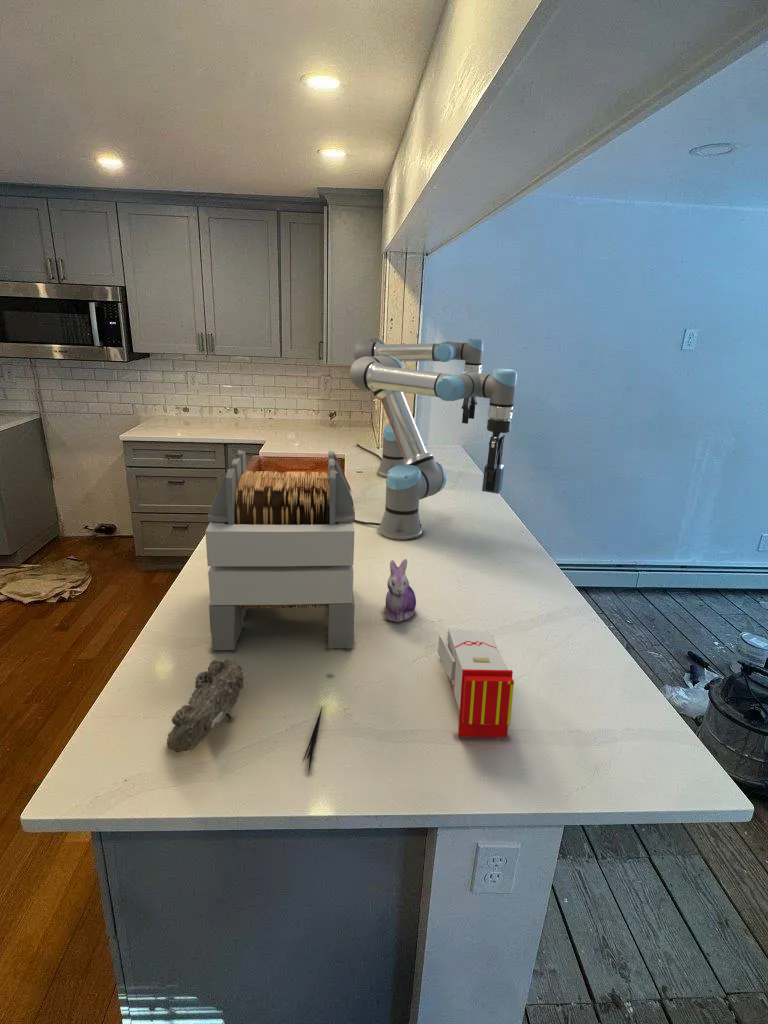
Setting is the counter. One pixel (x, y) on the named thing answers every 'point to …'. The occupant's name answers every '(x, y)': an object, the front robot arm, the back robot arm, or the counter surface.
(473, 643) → the toy
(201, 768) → the counter surface
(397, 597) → the figurine
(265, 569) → the transformer
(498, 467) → the brick
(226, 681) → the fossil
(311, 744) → the feather
